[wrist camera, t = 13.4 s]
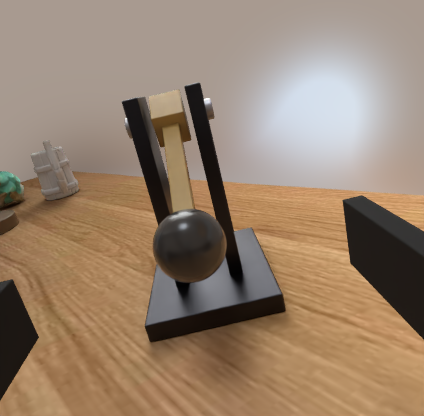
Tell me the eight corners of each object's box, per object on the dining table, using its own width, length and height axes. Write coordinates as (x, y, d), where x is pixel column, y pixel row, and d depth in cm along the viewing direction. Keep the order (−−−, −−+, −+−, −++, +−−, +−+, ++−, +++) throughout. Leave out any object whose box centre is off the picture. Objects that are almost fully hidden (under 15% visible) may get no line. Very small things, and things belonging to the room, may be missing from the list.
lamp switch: (237, 286, 18) (227, 245, 15) (166, 303, 18) (144, 265, 15) (197, 122, 27) (187, 78, 25) (151, 133, 27) (135, 91, 25)
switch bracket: (286, 310, 23) (239, 70, 19) (149, 342, 23) (71, 111, 19) (254, 239, 35) (220, 79, 30) (162, 261, 35) (115, 104, 30)
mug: (76, 187, 84) (58, 135, 80) (87, 193, 74) (67, 135, 70) (42, 198, 81) (21, 145, 77) (49, 206, 71) (25, 146, 67)
